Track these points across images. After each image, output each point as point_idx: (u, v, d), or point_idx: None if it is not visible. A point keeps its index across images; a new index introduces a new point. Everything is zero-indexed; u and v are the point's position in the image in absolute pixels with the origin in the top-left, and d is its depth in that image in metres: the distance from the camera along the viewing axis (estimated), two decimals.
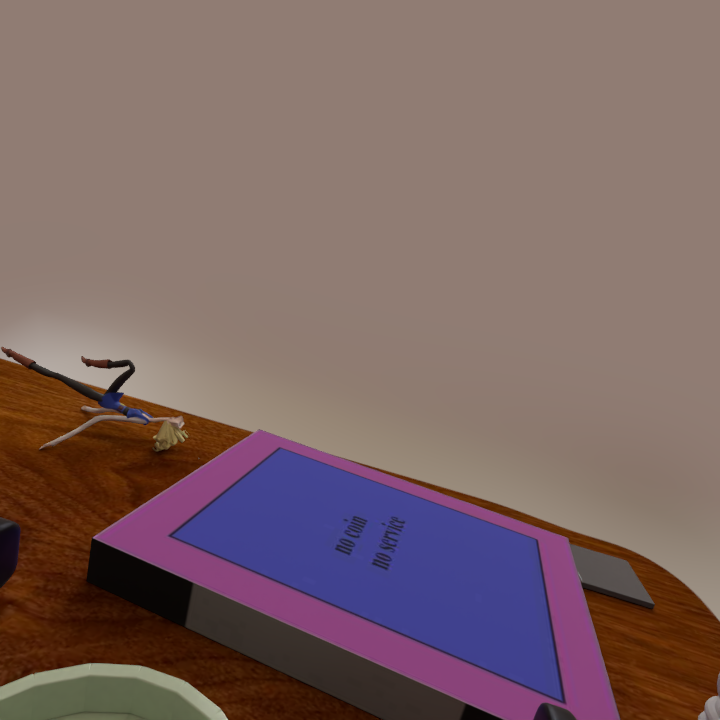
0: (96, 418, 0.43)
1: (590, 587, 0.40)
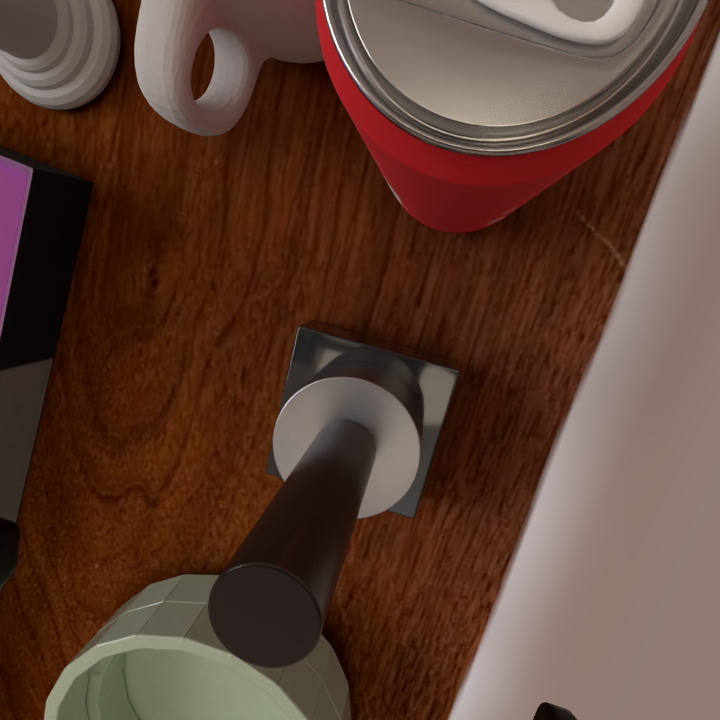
0: None
1: None
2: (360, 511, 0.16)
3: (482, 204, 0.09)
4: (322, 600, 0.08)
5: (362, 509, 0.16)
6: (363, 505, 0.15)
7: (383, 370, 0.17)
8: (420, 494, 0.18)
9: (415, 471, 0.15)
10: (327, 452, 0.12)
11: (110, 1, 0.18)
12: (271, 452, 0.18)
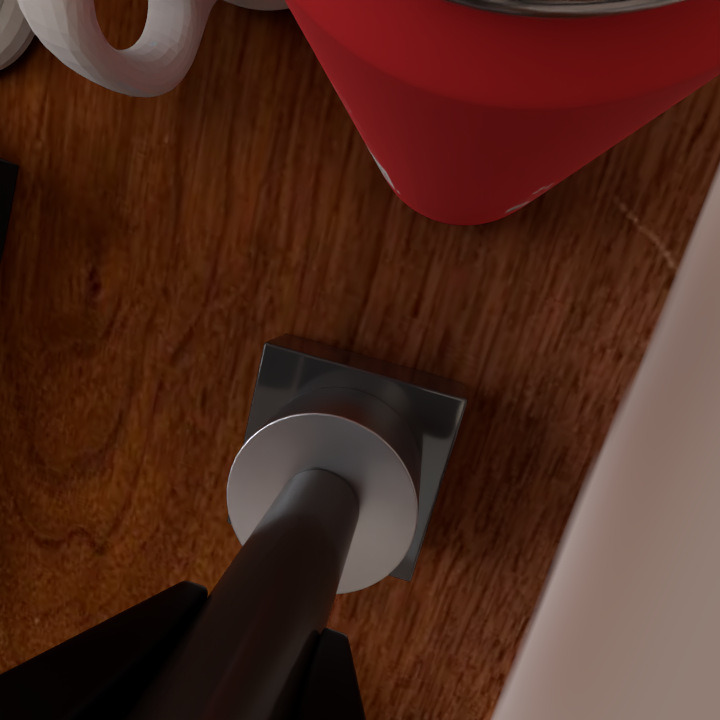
0: None
1: None
2: (339, 585, 0.12)
3: (516, 167, 0.05)
4: None
5: (342, 582, 0.12)
6: (343, 578, 0.12)
7: (370, 400, 0.13)
8: (418, 552, 0.14)
9: (410, 536, 0.11)
10: (285, 528, 0.09)
11: None
12: None
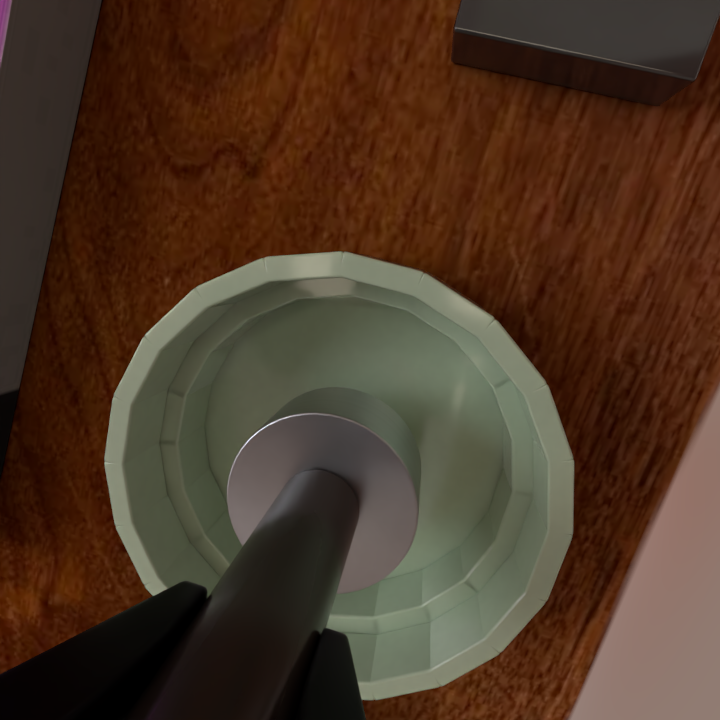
0: None
1: None
2: (340, 585, 0.12)
3: None
4: None
5: (342, 582, 0.12)
6: (343, 578, 0.12)
7: (371, 400, 0.13)
8: (712, 31, 0.11)
9: (411, 536, 0.11)
10: (286, 529, 0.09)
11: None
12: None
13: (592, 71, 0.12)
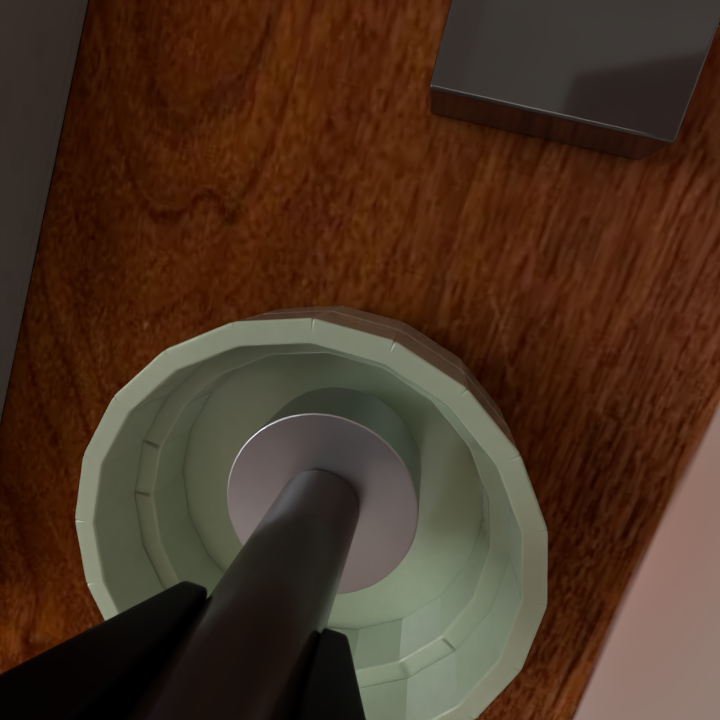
0: None
1: None
2: (340, 585, 0.12)
3: None
4: None
5: (342, 583, 0.12)
6: (343, 578, 0.12)
7: (371, 400, 0.13)
8: (691, 93, 0.11)
9: (411, 536, 0.11)
10: (286, 529, 0.09)
11: None
12: (442, 47, 0.12)
13: (570, 128, 0.12)
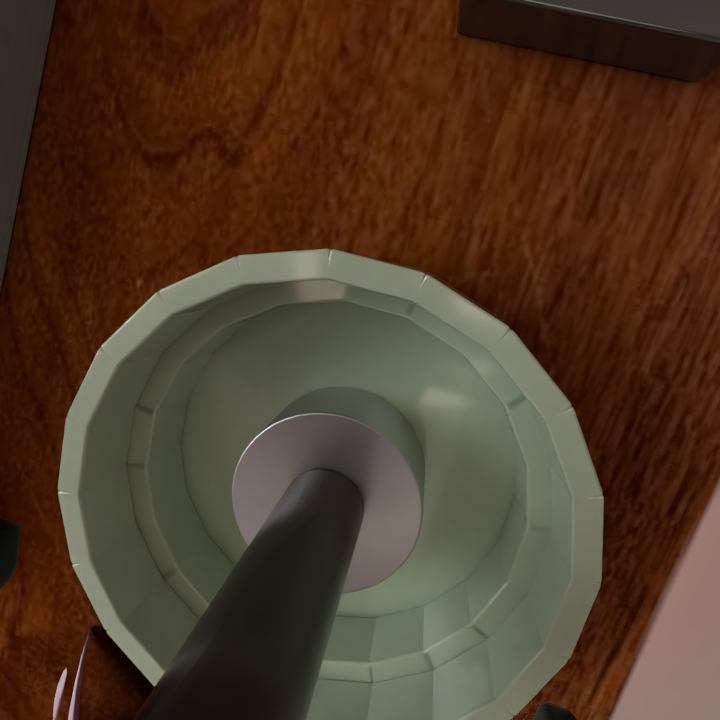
0: None
1: None
2: (344, 584, 0.12)
3: None
4: None
5: (347, 582, 0.12)
6: (348, 577, 0.12)
7: (375, 399, 0.13)
8: None
9: (415, 536, 0.11)
10: (292, 528, 0.09)
11: None
12: None
13: (621, 39, 0.11)
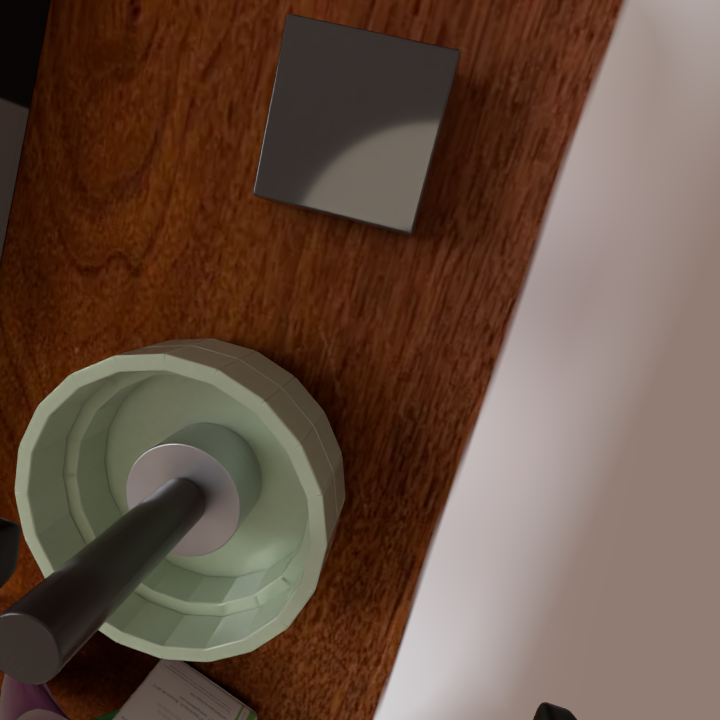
0: None
1: None
2: (197, 550, 0.19)
3: None
4: (63, 637, 0.12)
5: (198, 549, 0.19)
6: (198, 545, 0.19)
7: (224, 432, 0.20)
8: (418, 203, 0.17)
9: (236, 519, 0.19)
10: (139, 512, 0.16)
11: None
12: (258, 168, 0.17)
13: (351, 220, 0.18)
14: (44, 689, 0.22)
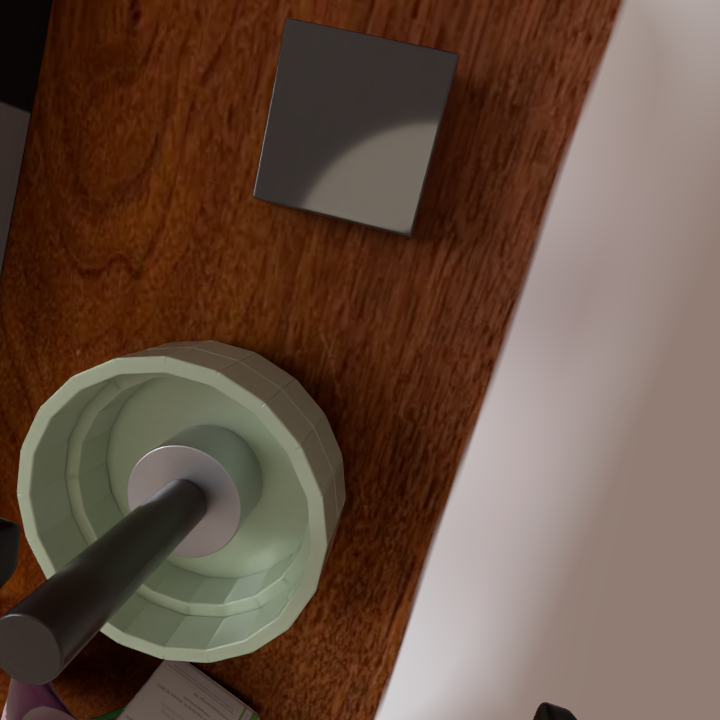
0: None
1: None
2: (198, 551, 0.19)
3: None
4: (65, 639, 0.12)
5: (199, 550, 0.19)
6: (199, 547, 0.19)
7: (225, 434, 0.20)
8: (417, 205, 0.17)
9: (237, 520, 0.19)
10: (140, 514, 0.16)
11: None
12: (258, 171, 0.17)
13: (351, 223, 0.18)
14: (49, 686, 0.22)
